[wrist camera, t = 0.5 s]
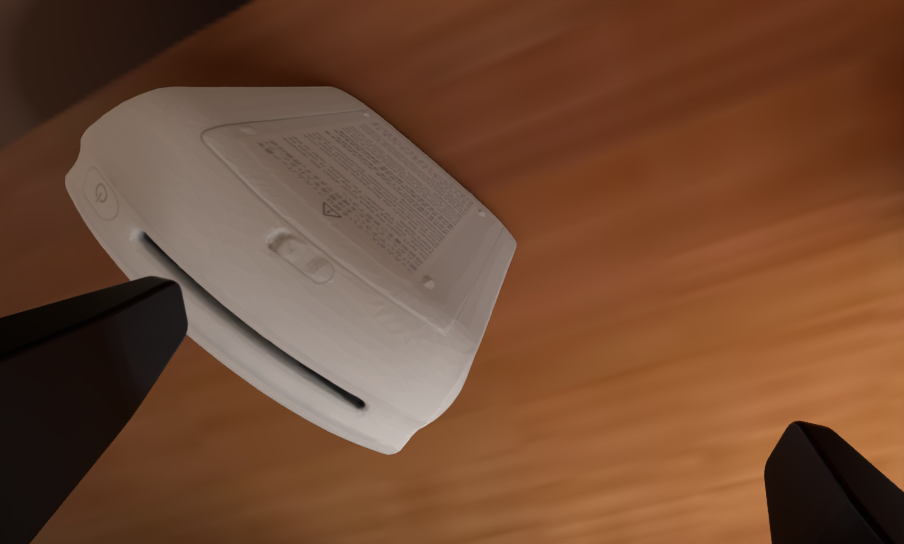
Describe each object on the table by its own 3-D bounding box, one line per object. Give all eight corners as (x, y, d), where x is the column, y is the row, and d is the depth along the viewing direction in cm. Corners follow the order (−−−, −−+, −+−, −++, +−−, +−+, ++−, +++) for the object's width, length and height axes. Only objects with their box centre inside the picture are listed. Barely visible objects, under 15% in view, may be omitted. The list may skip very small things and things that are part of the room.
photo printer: (279, 154, 22) (-25, 229, 11) (333, 67, 21) (43, 49, 9) (468, 311, 23) (367, 539, 12) (535, 239, 21) (495, 421, 10)
